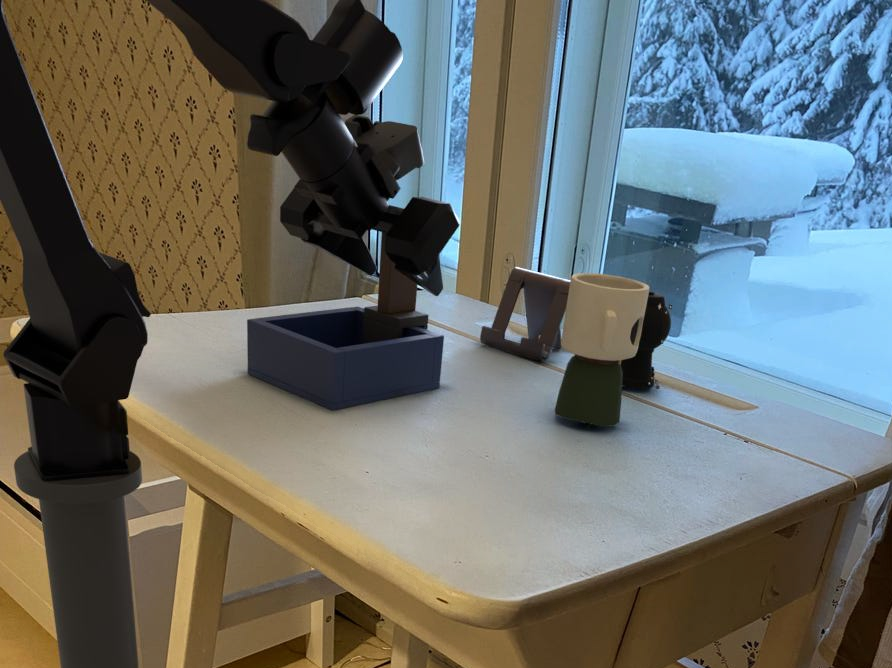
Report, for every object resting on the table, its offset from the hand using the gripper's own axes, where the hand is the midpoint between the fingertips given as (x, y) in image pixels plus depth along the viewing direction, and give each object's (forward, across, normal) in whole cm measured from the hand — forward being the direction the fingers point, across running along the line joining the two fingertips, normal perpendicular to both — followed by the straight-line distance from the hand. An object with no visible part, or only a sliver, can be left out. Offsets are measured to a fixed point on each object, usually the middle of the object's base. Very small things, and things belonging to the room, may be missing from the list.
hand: (405, 281), depth 96 cm
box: (+1, 0, +12) cm, 12 cm away
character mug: (+10, -21, +3) cm, 23 cm away
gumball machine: (+20, -16, -8) cm, 27 cm away
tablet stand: (+21, -1, -8) cm, 23 cm away
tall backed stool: (+4, 0, +6) cm, 7 cm away
